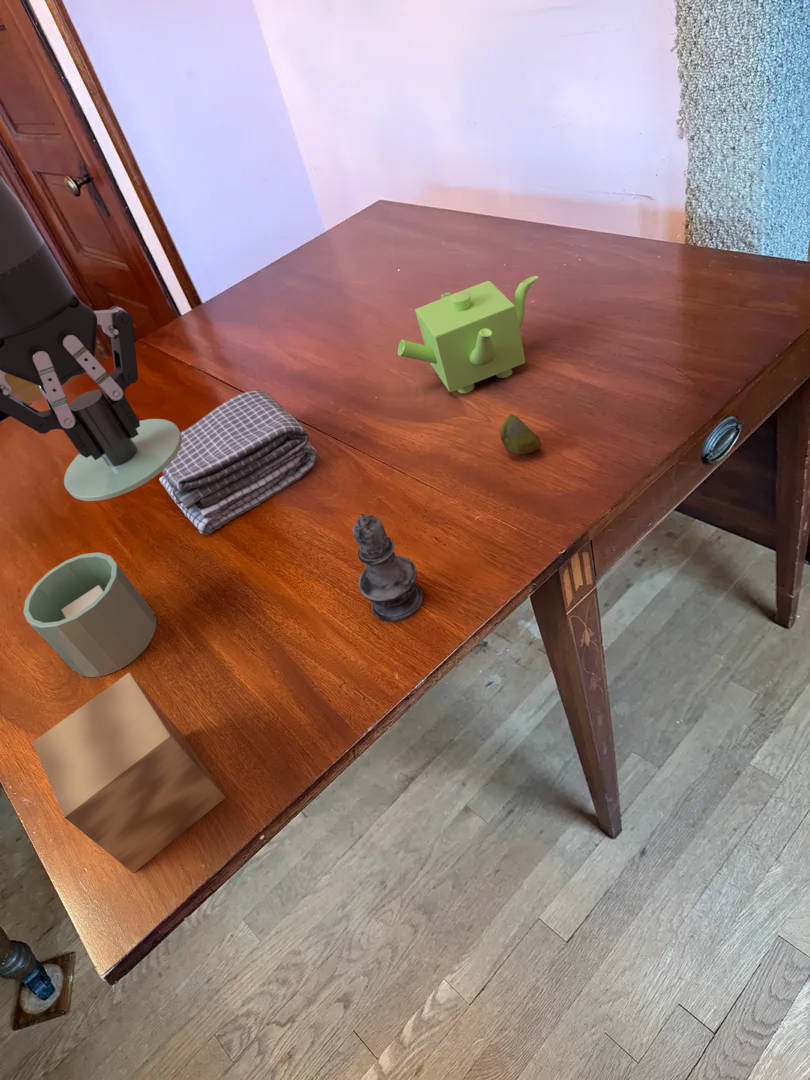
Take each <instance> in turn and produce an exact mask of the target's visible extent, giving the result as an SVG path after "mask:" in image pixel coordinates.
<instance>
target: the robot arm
mask: <svg viewBox="0 0 810 1080" xmlns="http://www.w3.org/2000/svg"><path fill="white" fill-rule="evenodd" d="M98 326H100V327H101V330H102V331H103V333H104V334H105V335H106V336H108V337H109V338H110V343H111V353H112V361H113V362H112V363H113V369H114V370H113V371H112V372H111V373H110V374H109V372H108V371H107V370H106V369H105V368H104V366H103V365H102V364H101V363H100V362H99V361H98V360H97V359H96V358H95V353H96V343H97V331H98ZM138 372H139V371H138V361H137V352H136V342H135V333H134V322H133V317H132V315H131V314H130V313H129V312H127V311H126V310H125V309H123V308H122V307H120V306H119V305H112V306H110V307H109V308H108V309H100V310H93V309H92V308H91V307H89V306H88V305H86V304H85V303H84V302H82V300H80V298H79V297H78V296H77V294H76V292H75V291H74V288H73V286H72V285H71V284H70V282H69V280H68V278H67V277H66V275H65V274H64V272H63V270H62V269H61V267H60V265H59V263H58V262H57V260H56V258H55V257H54V255H53V254H52V252H51V250H50V248H49V247H48V245H47V244H46V242H45V240H44V238H43V237H42V235H41V233H40V231H39V230H38V228H37V227H36V225H35V223H34V221H33V220H32V218H31V217H30V214H29V213H28V211H27V210H26V208H25V207H24V205H23V203H21V201H20V200H19V198H18V197H17V196H16V194H15V193H14V192H13V191H12V189H11V188H10V187H9V185H8V184H7V183H6V181H5V180H4V178H3V176H2V175H1V174H0V412H3V413H4V414H6V415H8V416H9V417H11V418H13V419H15V420H16V421H18V422H20V423H22V424H23V425H25V426H27V427H28V428H30V429H32V430H34V431H35V432H37V433H39V434H43V435H44V434H48V433H50V432H51V431H53V430H61V431H63V433H64V434H65V435H66V436H67V438H68V439H69V441H70V442H71V444H72V445H73V447H74V448H75V450H76V451H77V452H78V454H79V453H80V454H81V455H82V456H84V457H86V458H87V457H89V456H92V457H93V458H94V459H95V460H97V459H99V458H100V457H102V454H101V453H100V451H99V450H98V448H97V447H96V446H95V444H94V443H93V441H92V440H91V438H90V437H89V435H88V434H87V432H86V431H85V429H84V428H83V426H82V425H81V423H80V422H79V421H78V420H77V419H76V418H75V417H74V415H73V413H72V411H71V409H70V407H69V405H70V403H69V402H68V397H67V396H66V393H65V391H64V388H63V385H65V384H66V383H67V382H68V381H69V380H70V379H71V378H73V377H75V376H80V375H83V374H84V373H85V375H87V376H88V377H89V378H90V379H91V380H92V382H94V383H95V384H96V386H97V387H98V389H99V390H100V391H102V392H103V394H104V396H105V397H106V399H107V400H108V402H109V404H110V406H111V407H112V409H113V410H114V412H115V414H116V415H117V417H118V418H119V420H120V422H121V423H122V425H123V426H124V428H125V429H126V431H127V433H128V434H129V436H130V437H131V438H134V437H135V436H137V435H139V434H138V432H137V430H136V428H138V427H139V426H140V422H139V421H140V419H139V418H138V416H137V414H136V412H135V411H134V409H133V408H132V406H131V405H130V403H129V401H128V400H127V398H126V395H125V394H126V393H125V392H126V390H127V388H128V387H129V386H130V385H133V384H135V383H137V382H138V379H139V373H138ZM7 374H8V375H10V376H13V377H16V378H18V379H20V380H23V381H26V382H28V383H32V384H34V385H36V386H38V389H39V391H40V393H41V394H42V396H43V398H44V399H45V402H46V404H47V406H48V408H49V409H46V410H42V411H40V410H38V409H36V408H35V407H33V406H31V404H28V403H27V402H25V401H24V400H21V399H20V398H19V397H16V396H15V395H14V394H12V393H13V386H11V384H10V383H9V382H8V381H7V379H6V376H7Z"/></svg>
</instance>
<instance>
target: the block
mask: <svg viewBox="0 0 810 1080" xmlns="http://www.w3.org/2000/svg"><path fill="white" fill-rule="evenodd" d="M102 593H103V589H102V588H101V587H100V586H99V585H98V586H96V587H95V588H93V589H92V590H90V591H89V592H87V593H86V594H84V595H83V596H81V597H80V598H78V599H77V600H75V601H73V602H72V603H70V604H69V605H67V606H66V607H64V608H63V609H61V610H62V612H63V614H64V616H65V618H68V617H71V616H73V615H76V614H78V613H79V612H80V611H82V610H83V609H85V608H86V607H88V606H89V605H91V604H92V603H93V602H94V601H95V600H96V599H97V598H98V597H99V596H100V595H101V594H102Z"/></svg>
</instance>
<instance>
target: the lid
mask: <svg viewBox="0 0 810 1080" xmlns="http://www.w3.org/2000/svg"><path fill="white" fill-rule="evenodd" d="M69 407H70V409H71V411H72V413H73V416H74V417H75V418H76V419H77V420H78V421H79V422H80V423H81V425H82V426H83V428H84V429H85V431H86V432H87V434H88V435H89V437H90V438H91V440H92V441H93V443H94V444H95V446H96V447H97V448H98V450H99V451H100V453H101V454H102V457H100V458H99V459H97V460H95V459H94V458H93V457H92V456H89V457H87V458H86V457H84V456H82V455H81V454H80V453H79V452H78V454H77V455H76V456H75V457H74V459H73V460H72V461H71V463H69V466H68V467H67V468H66V471H65V474H64V477H63V485H64V488H65V490H66V491H67V492H68V494H69V495H70V496H71V497H73V498H75V499H76V500H78V501H83V502H99V501H100V502H101V501H105V500H109V499H113V498H116V497H119V496H122V495H125V494H127V493H129V492H132V491H134V490H136V489H137V488H141V486H143V485H146V484H147V483H149V482H150V481H151V480H152V479H154V478H155V477H157V476H158V475H159V474H160V473H162V471H163V470H164V469H165V468H166V467H167V466H168V465H169V464H170V463H171V461H172V460H173V459H174V458H175V456H176V455H177V453H178V451H179V449H180V447H181V443H182V435H181V432H182V431H181V430H180V429H179V426H177V424H176V423H174V422H172V421H170V420H168V419H164V418H163V419H162V418H148V419H142V420H139V422H140V426H139V427H138V428H136V430H137V432H138V434H139V435H137V436H135V437H134V438H131V437H130V436H129V434H128V433H127V431H126V429H125V428H124V426H123V425H122V423H121V422H120V420H119V418H118V417H117V415H116V414H115V412H114V410H113V409H112V407H111V406H110V404H109V402H108V400H107V399H106V397H105V395H104V393H103V392H102V390H101V389H94V390H89V391H86V392H84V393H82V394H80V395H78V396H77V397H75V398H74V399H73V400H72V401H71V402H70V403H69Z"/></svg>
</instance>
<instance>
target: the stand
mask: <svg viewBox="0 0 810 1080" xmlns="http://www.w3.org/2000/svg"><path fill="white" fill-rule="evenodd" d="M31 744H32V746H33V748H34V750H35V753H36V756H37V758H38V759H39V762H40V764H41V767H42V768H43V771H44V774H45V776H46V778H47V780H48V782H49V784H50V787H51V789H52V792H53V795H54V797H55V799H56V801H57V803H58V806H59V808H60V811H61V813H62V815H63V817H64V819H66V820H67V821H68V822H69V823H71V824H72V825H73V826H75V828H77V829H78V830H79V831H81V832H82V833H83V834H84V835H85V836H87V837H88V838H89V839H91V840H92V841H93V842H94V843H96V844H97V846H99V847H100V848H102V849H103V850H104V851H105V852H107V854H109V855H110V856H111V857H113V858H114V859H115V860H116V861H117V862H119V863H120V864H121V865H122V866H124V867H125V868H126V869H127V870H128V871H130V872H131V873H132V874H135V873H136V872H137V871H138V870H140V868H142V867H143V866H144V865H146V864H147V863H148V862H149V861H151V860H152V859H153V858H154V857H155V856H156V855H158V854H159V853H160V852H161V851H162V850H164V849H165V848H166V847H168V846H169V845H170V844H171V843H172V842H173V841H175V840H176V839H177V838H178V837H179V836H181V835H182V834H184V833H185V832H186V831H187V830H188V829H189V828H191V827H192V826H193V825H194V824H195V823H197V822H198V821H199V820H201V819H202V818H203V817H204V816H205V815H206V814H208V813H209V812H211V810H212V809H214V808H215V807H216V806H217V805H219V804H220V803H221V802H222V801H224V800H225V799H226V796H225V794H224V793H223V792H222V791H221V789H220V788H219V787H220V786H218V785H217V783H216V781H215V780H214V779H213V777H212V775H211V774H210V773H209V771H208V770H207V768H206V766H205V765H204V763H203V762H202V760H201V759H200V757H199V756H198V754H197V753H196V752H195V750H194V748H193V747H192V746H191V743H189V741H188V740H187V738H186V737H185V735H184V734H183V732H181V730H180V729H179V728H178V727H177V726H176V724H175V723H174V722H173V721H172V719H170V717H169V716H168V715H167V714H166V713H165V712H164V710H163V709H162V708H161V706H159V705H158V704H157V702H156V701H155V700H154V699H153V698H152V696H150V694H149V693H148V692H147V691H146V690H145V689H144V687H143V686H142V685H141V684H140V682H139V681H138V680H137V679H136V678H135V677H134V675H132V673H131V672H127V673H126V674H125V675H123V676H122V677H120V678H119V679H117V680H116V681H115V682H113V683H112V684H111V685H109V686H108V687H107V688H105V689H104V690H102V691H101V692H99V693H98V694H97V695H95V696H94V697H92V698H91V699H90V700H88V701H87V702H86V703H84V704H83V705H81V706H80V707H79V708H78V709H75V710H74V711H73V712H72V713H71V714H69V715H68V716H66V717H65V718H63V719H62V720H61V721H60V722H58V723H57V724H55V725H54V726H52V727H51V728H50V729H49V730H47V731H46V732H44V733H43V734H42V735H40V736H39V737H37V738H36V739H35V740H33V741H32V743H31Z"/></svg>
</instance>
